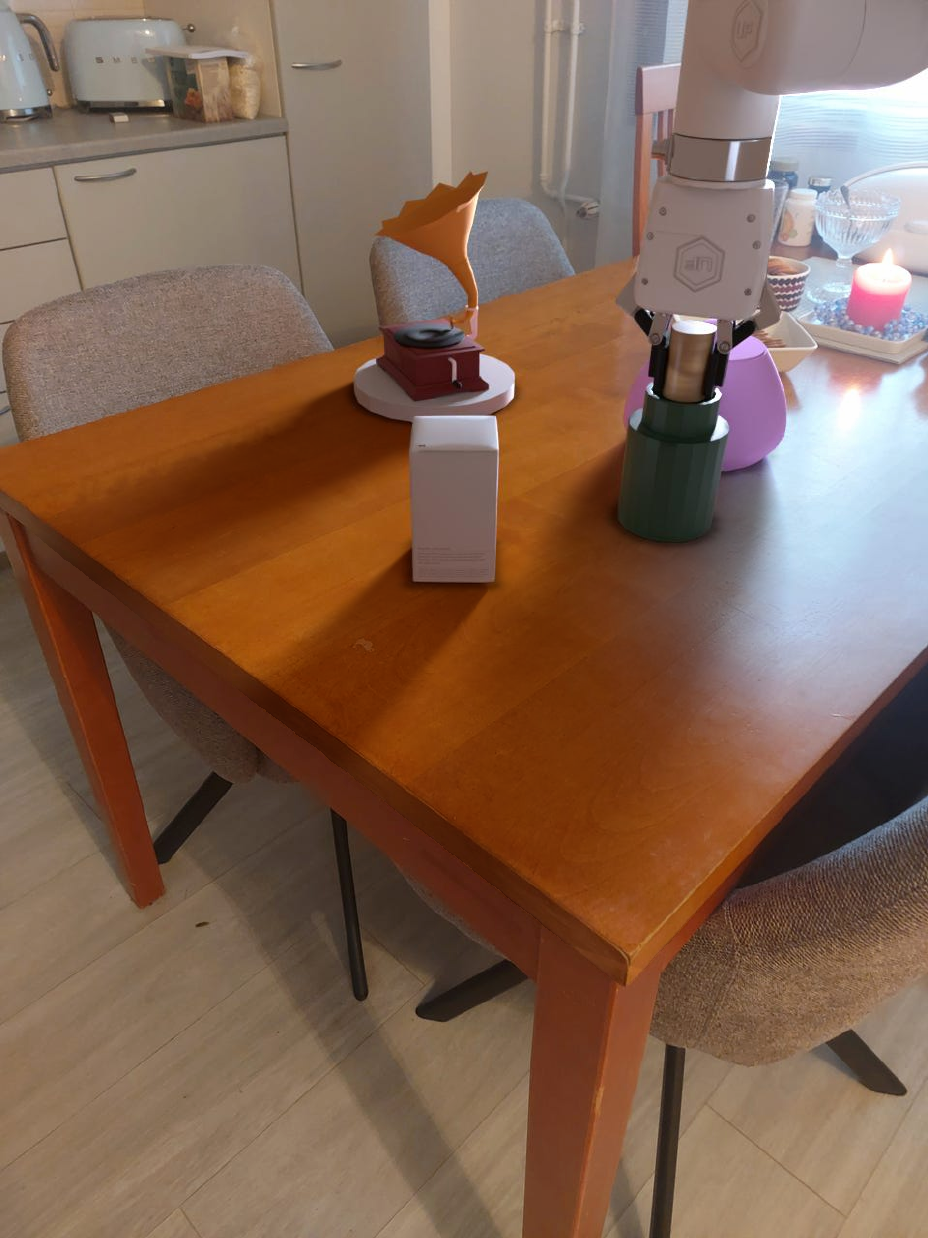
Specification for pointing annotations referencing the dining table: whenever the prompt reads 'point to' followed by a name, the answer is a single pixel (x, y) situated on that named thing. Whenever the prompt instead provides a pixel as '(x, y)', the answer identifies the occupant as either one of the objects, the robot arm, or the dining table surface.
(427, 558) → the white packaging box
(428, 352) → the gramophone
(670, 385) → the stopper
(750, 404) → the teapot
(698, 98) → the robot arm
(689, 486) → the green bottle
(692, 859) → the dining table surface
